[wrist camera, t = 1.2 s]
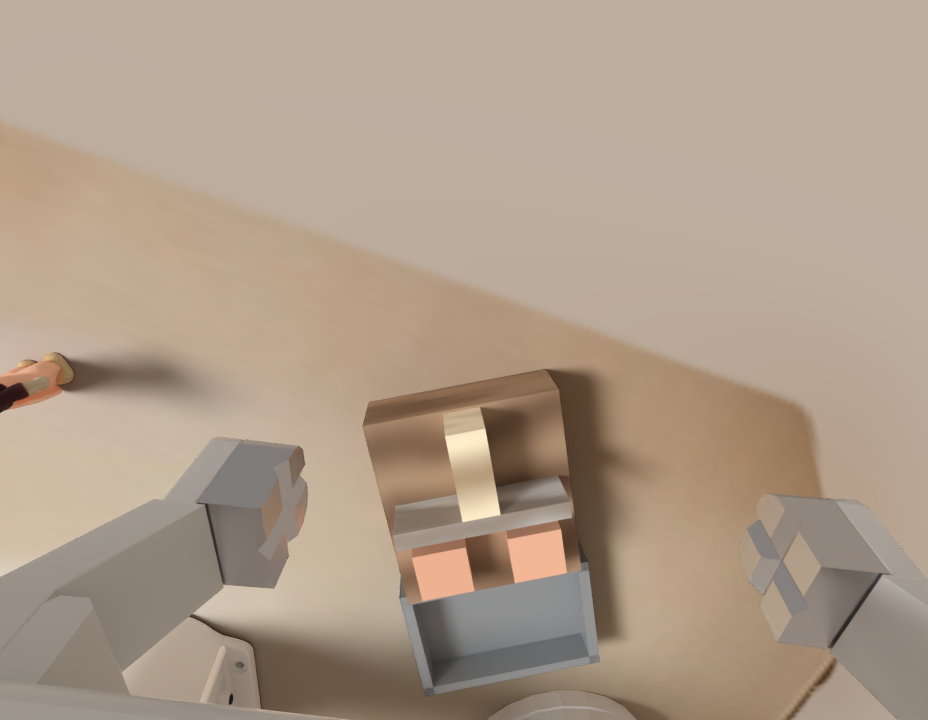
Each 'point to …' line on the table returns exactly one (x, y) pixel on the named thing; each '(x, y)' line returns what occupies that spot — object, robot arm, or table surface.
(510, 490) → the scraper
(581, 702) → the dish
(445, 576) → the terracotta tile
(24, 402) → the grandmother figurine
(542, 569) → the terracotta tile
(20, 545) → the table surface
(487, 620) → the box
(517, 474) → the walnut board
